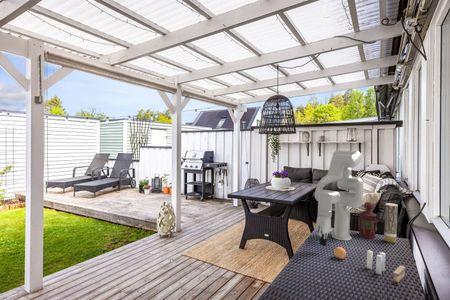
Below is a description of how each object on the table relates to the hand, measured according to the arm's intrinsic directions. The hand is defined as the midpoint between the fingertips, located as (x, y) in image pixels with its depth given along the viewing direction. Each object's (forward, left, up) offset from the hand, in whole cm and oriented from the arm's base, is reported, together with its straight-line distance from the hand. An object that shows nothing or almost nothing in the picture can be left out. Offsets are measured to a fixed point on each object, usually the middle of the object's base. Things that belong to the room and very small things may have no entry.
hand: (323, 244), depth 149 cm
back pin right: (+29, -2, -5) cm, 30 cm away
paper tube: (+19, +57, -5) cm, 60 cm away
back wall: (+37, +1, -5) cm, 38 cm away
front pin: (+24, +1, -5) cm, 25 cm away
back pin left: (+29, +3, -5) cm, 30 cm away
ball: (+9, +1, -2) cm, 10 cm away
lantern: (+5, +56, -5) cm, 56 cm away
